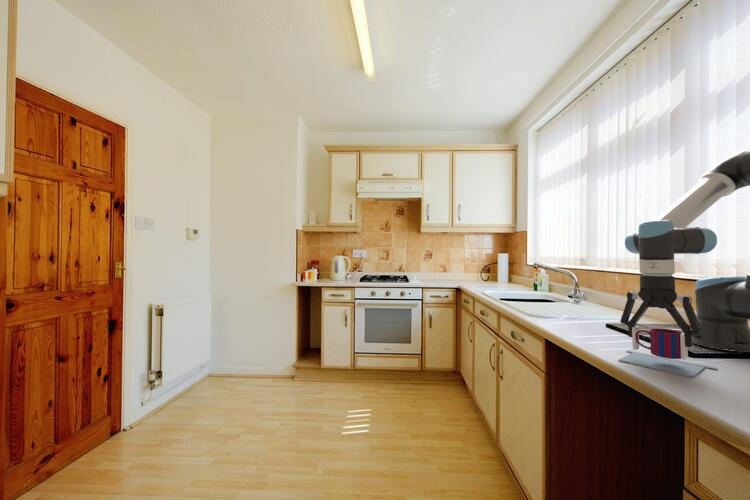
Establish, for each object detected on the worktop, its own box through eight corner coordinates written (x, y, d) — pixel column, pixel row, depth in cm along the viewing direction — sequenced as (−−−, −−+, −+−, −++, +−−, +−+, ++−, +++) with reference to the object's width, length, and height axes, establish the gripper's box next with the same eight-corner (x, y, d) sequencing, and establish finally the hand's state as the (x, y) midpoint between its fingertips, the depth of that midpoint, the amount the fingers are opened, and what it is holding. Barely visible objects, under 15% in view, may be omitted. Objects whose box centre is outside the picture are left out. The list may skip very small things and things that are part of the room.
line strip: (628, 351, 103) (628, 350, 103) (717, 368, 86) (717, 367, 86) (626, 352, 102) (626, 351, 102) (716, 370, 85) (716, 369, 85)
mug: (681, 360, 84) (680, 335, 85) (633, 352, 92) (633, 328, 92) (684, 355, 89) (684, 331, 89) (638, 347, 96) (638, 325, 97)
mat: (632, 354, 100) (632, 352, 100) (704, 368, 87) (704, 367, 87) (618, 361, 94) (618, 359, 94) (693, 377, 81) (693, 376, 81)
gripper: (605, 273, 98) (607, 346, 98) (709, 277, 79) (712, 367, 79) (615, 272, 102) (617, 342, 102) (717, 276, 83) (719, 361, 83)
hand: (659, 353), depth 90 cm, fingers closed on mug, 10 cm apart
